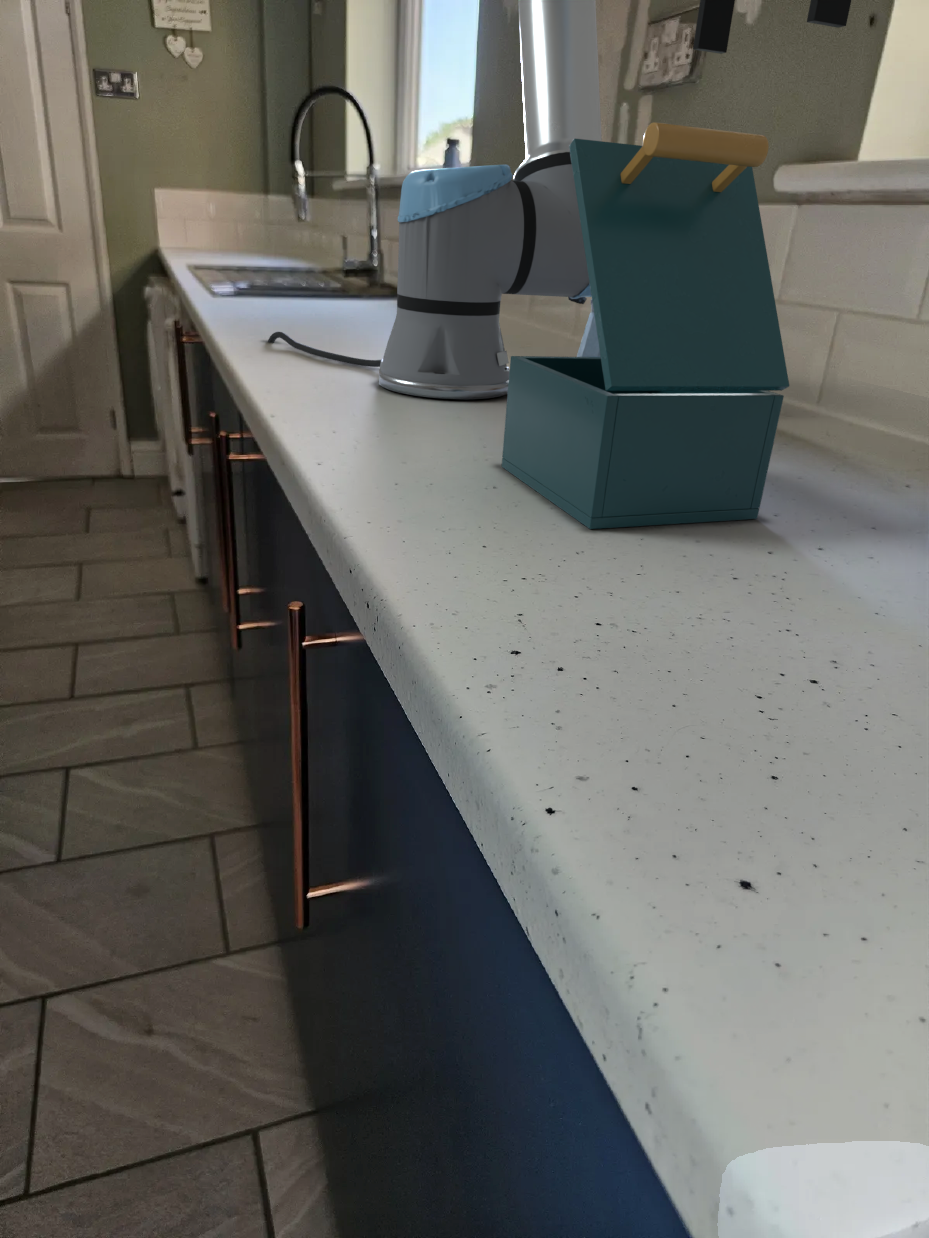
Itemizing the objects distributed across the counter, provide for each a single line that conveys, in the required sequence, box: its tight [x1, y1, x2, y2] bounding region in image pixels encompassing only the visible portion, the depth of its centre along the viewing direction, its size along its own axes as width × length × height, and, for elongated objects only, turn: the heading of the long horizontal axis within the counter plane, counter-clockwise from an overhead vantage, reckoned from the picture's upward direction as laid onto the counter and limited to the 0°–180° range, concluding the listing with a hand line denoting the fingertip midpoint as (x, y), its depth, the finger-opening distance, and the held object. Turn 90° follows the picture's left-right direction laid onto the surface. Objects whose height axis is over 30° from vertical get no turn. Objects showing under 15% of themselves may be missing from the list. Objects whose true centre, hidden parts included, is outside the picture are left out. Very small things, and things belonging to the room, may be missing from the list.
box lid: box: [569, 121, 790, 392], centre depth 55 cm, size 16×14×6 cm
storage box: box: [501, 355, 784, 530], centre depth 65 cm, size 16×14×9 cm
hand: (762, 39), depth 65 cm, fingers open, 13 cm apart
